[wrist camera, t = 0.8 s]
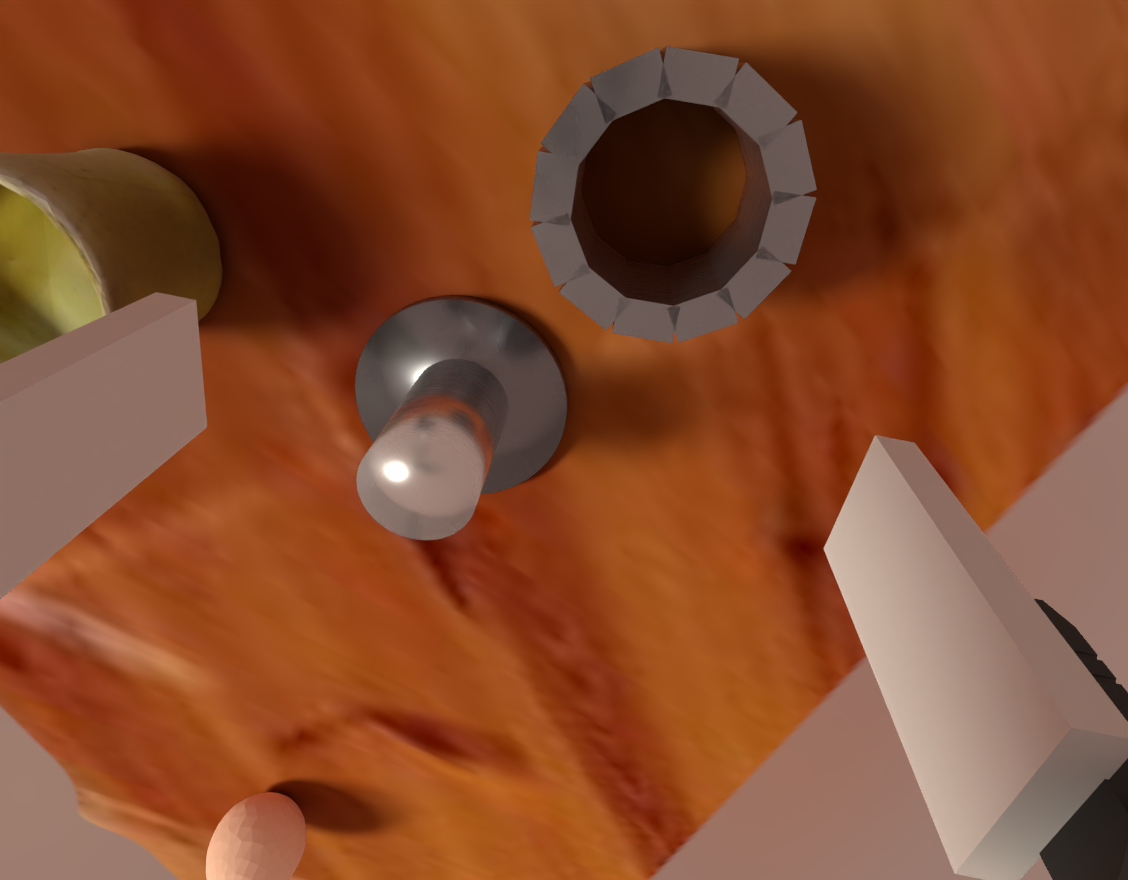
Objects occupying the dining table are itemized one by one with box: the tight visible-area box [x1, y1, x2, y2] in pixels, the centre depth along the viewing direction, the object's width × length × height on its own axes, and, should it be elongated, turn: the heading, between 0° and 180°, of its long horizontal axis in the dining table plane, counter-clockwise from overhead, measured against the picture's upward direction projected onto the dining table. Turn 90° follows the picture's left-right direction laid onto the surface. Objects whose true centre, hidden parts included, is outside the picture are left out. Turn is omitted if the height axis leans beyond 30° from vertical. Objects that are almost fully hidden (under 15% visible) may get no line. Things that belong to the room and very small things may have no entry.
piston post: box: [355, 295, 568, 540], centre depth 32 cm, size 11×11×9 cm
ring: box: [530, 46, 817, 343], centre depth 27 cm, size 10×10×6 cm
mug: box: [0, 148, 223, 364], centre depth 30 cm, size 12×10×10 cm
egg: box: [206, 792, 306, 880], centre depth 51 cm, size 7×7×8 cm
